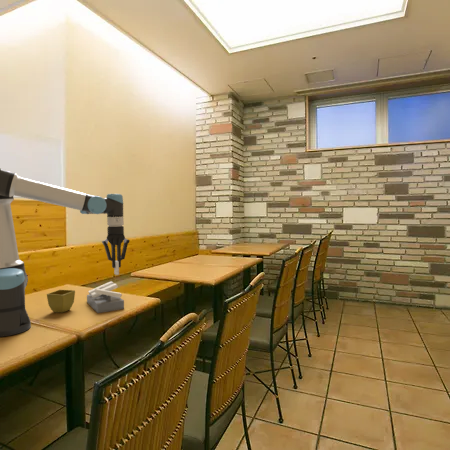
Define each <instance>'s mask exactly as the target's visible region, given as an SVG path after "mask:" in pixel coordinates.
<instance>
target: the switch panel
mask: <svg viewBox="0 0 450 450" xmlns="http://www.w3.org/2000/svg"><path fill="white" fill-rule="evenodd" d="M86 303H87V304H88V305H89V307H91V309H93V310H94V312H96V313H97V314H100V313H101V314H102V313H106V312H113V311H114V312H115V311H119V310H123V309H124V310H125V300H124V299H122V297H115V296H109V295H104V294H102V295H100V296H97V297H95V298H93V297H92V295H90V294H89V293H88V294H86Z"/></svg>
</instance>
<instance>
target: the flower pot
mask: <svg viewBox="0 0 450 450" xmlns="http://www.w3.org/2000/svg"><path fill="white" fill-rule="evenodd" d="M75 294H76V290H74V289H73V290H72V289H58V290H55V291H52V292H49V293H46V297H47V298H46V300H47V303H48V306H49V308H50V310H51V311H52V312H53V313H60V314H61V313H62V314H63V313H65V312H67V311H69V310H71V309H72V307H73V304H74V302H75V296H76V295H75Z"/></svg>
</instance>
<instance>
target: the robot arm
mask: <svg viewBox="0 0 450 450" xmlns="http://www.w3.org/2000/svg"><path fill="white" fill-rule="evenodd" d="M14 196H15V197H20V198H24V199H28V200H29V199H30V200H33V201H38V202H43V203H45V204H51V205H56V206H60V207H64V208H68V209H73V210H78V211H79V212H80V213H81V214H82V215H101V214H103V215H106V217H107V218H106V220H107V221H106V223H107V225H106V226H107V229H106V230H107V236H106V238H105V239H104V240H101V243H102V245H103V246H104V249H105V253H106V257H107V260H109V261H111V267H112V269H114V271H113V273H114V275H115V276H119V275H120V268H121V266H122V263H121V262H122V260H125V257H126V255H127V254H126V253H127V248H128V245H129V243H130V239H128V238H126V236H125V228H124V197H123V195H122V194H121V193H107V194H106V197H102V196H99V195H92V194H89V193H88V194H87V193H84V192H80V191H78V190H77V191H76V190H73V189H70V188H65V187H60V186H58V185H53V184H49V183H45V182H40V181H37V180H33V179H29V178H25V177H22V176H19V175H18V173H16V172H12V171H9V170H6V169H3V168H0V338H1V337H8V336H14V335H18V334H21V333H24V332H26V331H28V330H30V328H32V325H31V324H32V322H31V319H30V316H29V314H28V312H27V309H26V294H25V293H26V291H25V290H26V287H27V285H28V282H29V277H28V275H27V273H26V272H27V271H26V267H25V262H24V261H22V260H21V259H20V256H19V251H18V244H17V238H16V231H15V225H14V218H13V212H12V207H11V203H12V202H13V201H14ZM108 243H109V244H110V246H111V248H110V247H109V245H108ZM122 243H123V246H122ZM121 247H122V248H121ZM110 249H111V251H110ZM116 259H117V260H116Z"/></svg>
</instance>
